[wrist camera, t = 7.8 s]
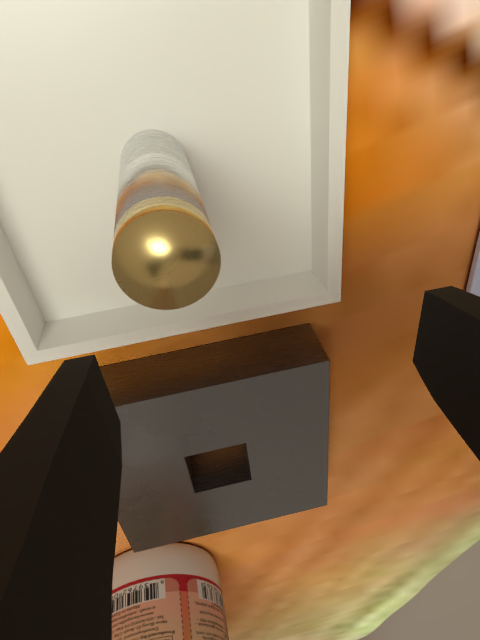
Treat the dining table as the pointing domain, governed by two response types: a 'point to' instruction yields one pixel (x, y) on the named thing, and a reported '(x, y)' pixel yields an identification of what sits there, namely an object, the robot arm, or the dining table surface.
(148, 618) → the fruit juice
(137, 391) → the block
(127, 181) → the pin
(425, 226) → the dining table surface
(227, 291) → the tray
